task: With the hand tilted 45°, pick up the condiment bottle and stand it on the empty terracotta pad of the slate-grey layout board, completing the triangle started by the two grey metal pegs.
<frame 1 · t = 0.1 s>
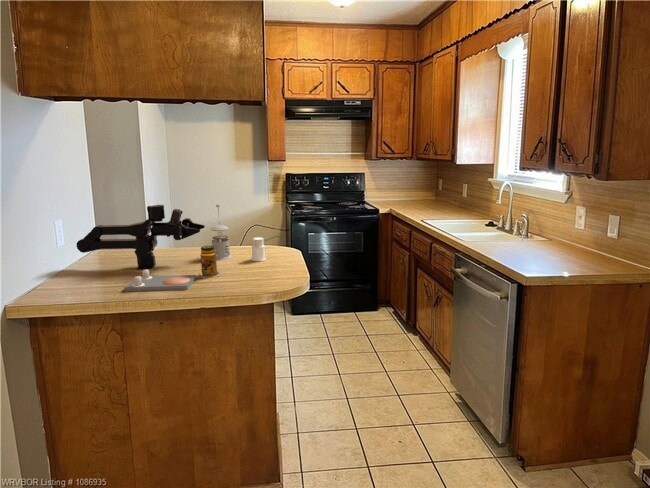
hand: (202, 228, 205), 17 cm above the countertop, tool horizontal, fingers open, 9 cm apart
downlight: (258, 260, 217), on the countertop
layout board: (161, 284, 183), on the countertop
condiment: (209, 275, 195), on the countertop
french press: (221, 257, 223), on the countertop
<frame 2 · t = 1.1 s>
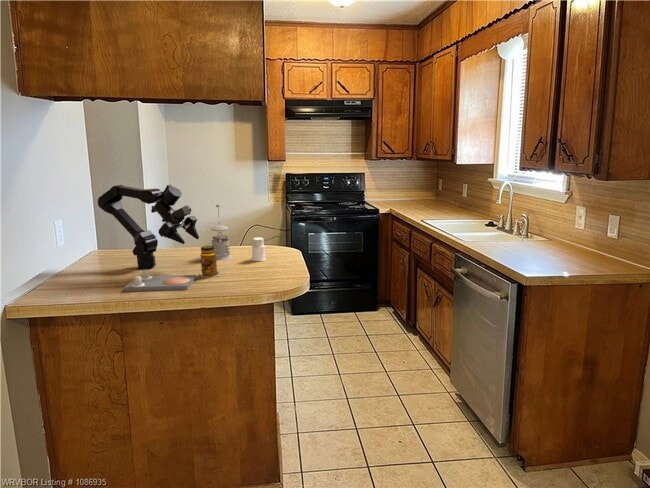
hand: (191, 240, 195), 14 cm above the countertop, tool tilted 45°, fingers open, 9 cm apart
nothing on the countertop moved.
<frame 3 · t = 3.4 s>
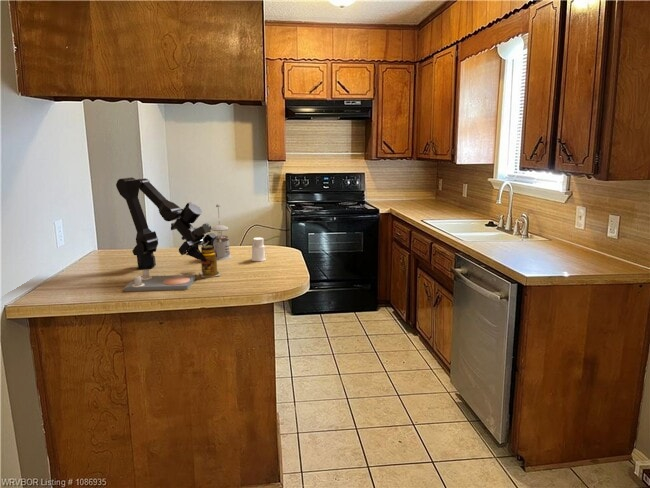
hand: (211, 259, 193), 7 cm above the countertop, tool tilted 45°, fingers open, 7 cm apart
condiment: (209, 274, 195), on the countertop, touching gripper
everything else where it was.
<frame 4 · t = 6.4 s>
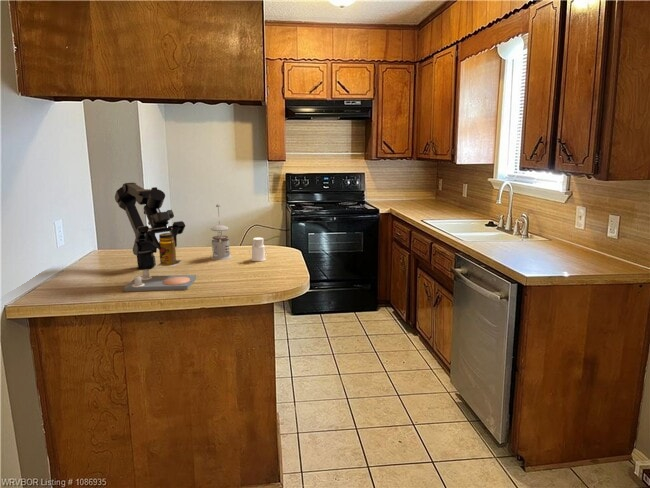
hand: (168, 247, 186), 13 cm above the countertop, tool tilted 45°, fingers closed on condiment, 6 cm apart
condiment: (169, 263, 189), point 6 cm above the countertop, touching gripper
everything else where it was.
when the fingers open (9 cm above the countertop, at t = 8.9 s): condiment stays where it is, resting on layout board.
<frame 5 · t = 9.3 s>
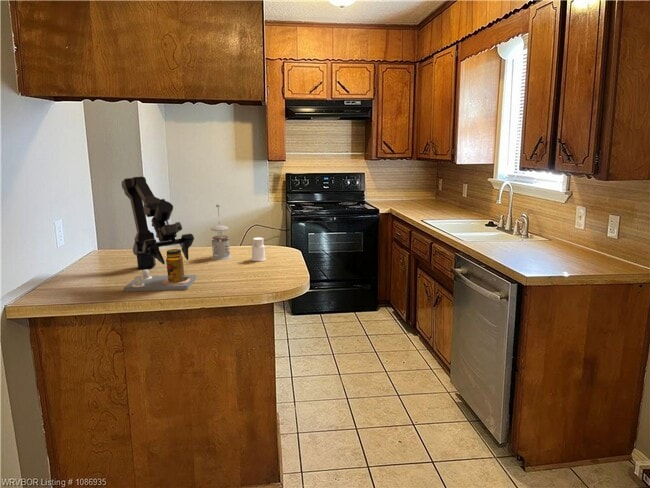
hand: (176, 261, 179), 10 cm above the countertop, tool tilted 45°, fingers open, 9 cm apart
condiment: (177, 280, 182), point 1 cm above the countertop, touching layout board
everything else where it was.
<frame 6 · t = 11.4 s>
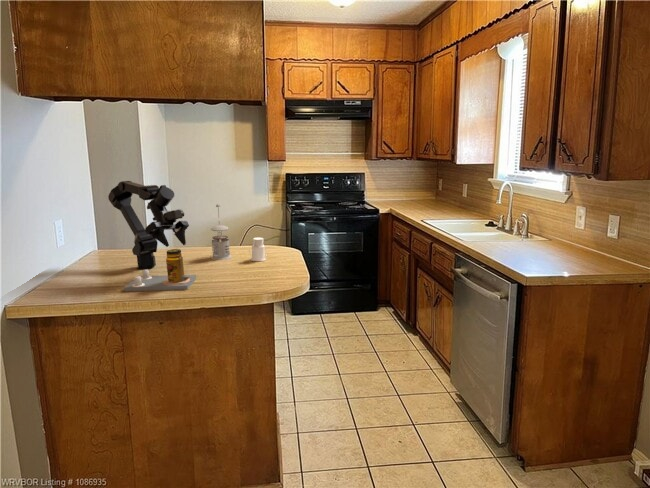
hand: (176, 245, 190), 13 cm above the countertop, tool tilted 35°, fingers open, 9 cm apart
nothing on the countertop moved.
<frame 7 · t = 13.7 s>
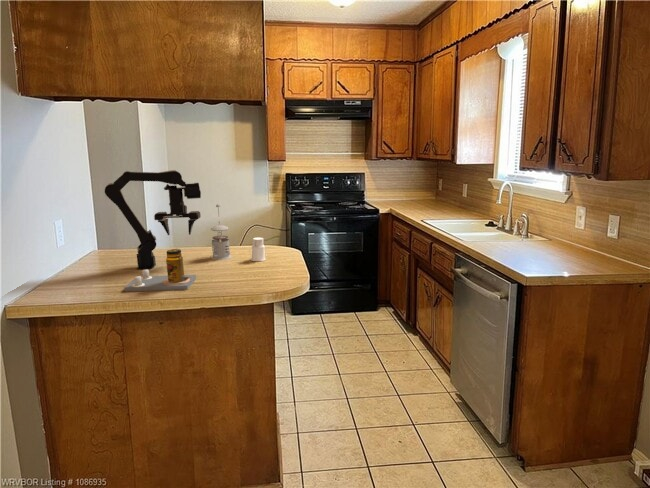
hand: (179, 234, 210), 13 cm above the countertop, tool pointing down, fingers open, 9 cm apart
nothing on the countertop moved.
at the end: condiment inside the target area on the layout board (0.8 cm from its centre), point 1.5 cm above the layout board's base; condiment tilted 0°; the gripper is holding nothing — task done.
